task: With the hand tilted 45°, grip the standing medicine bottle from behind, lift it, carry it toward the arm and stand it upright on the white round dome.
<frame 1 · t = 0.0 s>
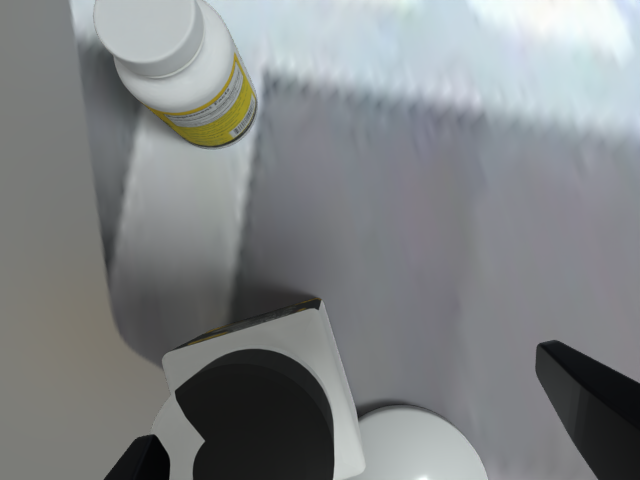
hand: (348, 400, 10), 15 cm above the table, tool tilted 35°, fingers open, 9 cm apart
supplement bottle: (216, 110, 26), on the table
medicine bottle: (281, 371, 25), on the table
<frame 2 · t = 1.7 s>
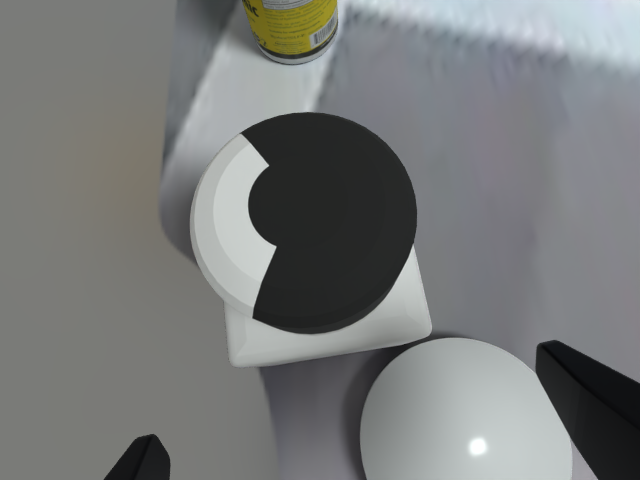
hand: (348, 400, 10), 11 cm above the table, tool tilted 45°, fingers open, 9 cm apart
supplement bottle: (296, 34, 27), on the table
medicine bottle: (326, 286, 22), on the table
white round dome: (457, 438, 19), on the table
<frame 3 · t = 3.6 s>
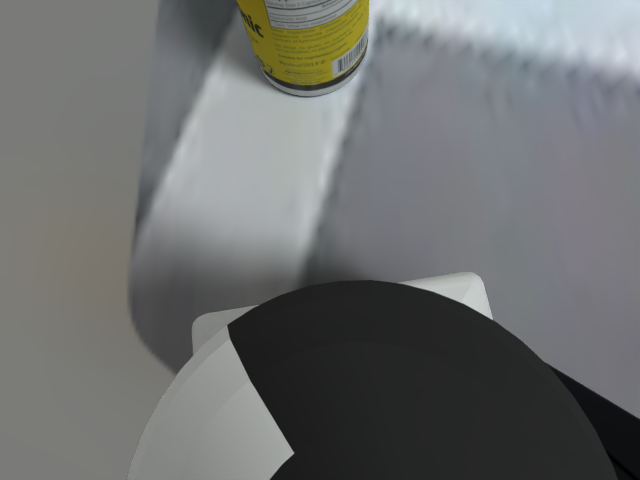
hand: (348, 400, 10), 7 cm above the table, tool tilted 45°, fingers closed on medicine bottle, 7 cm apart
supplement bottle: (311, 56, 20), on the table
medicine bottle: (356, 412, 16), on the table, touching gripper
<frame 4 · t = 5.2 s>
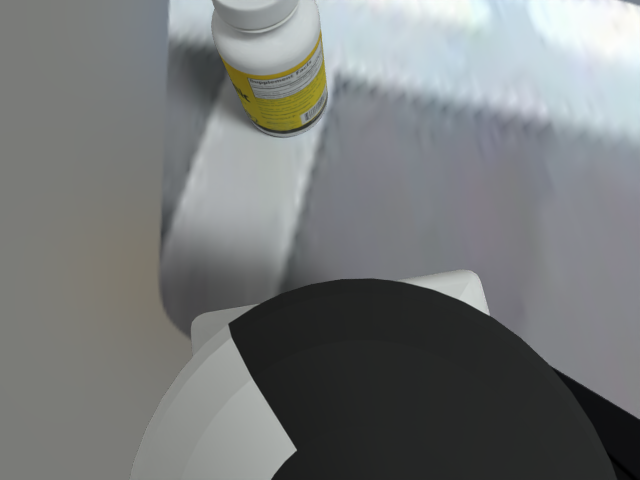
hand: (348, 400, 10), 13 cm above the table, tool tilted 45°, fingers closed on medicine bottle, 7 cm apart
supplement bottle: (286, 104, 27), on the table
medicine bottle: (354, 410, 16), point 6 cm above the table, touching gripper
when the fingers open (9 cm above the table, at t = 7.4 s): medicine bottle drops 1 cm, resting on white round dome.
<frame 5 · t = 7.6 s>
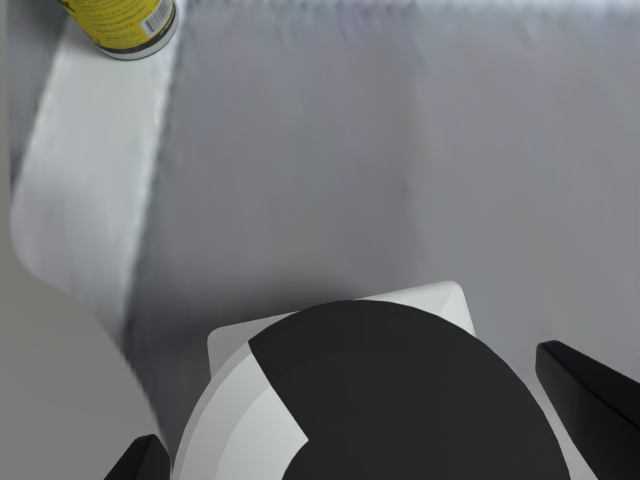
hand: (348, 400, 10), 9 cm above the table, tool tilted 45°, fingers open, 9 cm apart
supplement bottle: (138, 28, 25), on the table
medicine bottle: (356, 410, 17), point 1 cm above the table, touching white round dome
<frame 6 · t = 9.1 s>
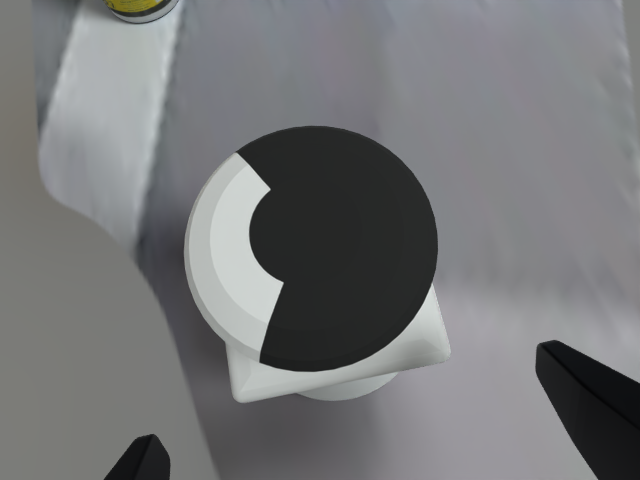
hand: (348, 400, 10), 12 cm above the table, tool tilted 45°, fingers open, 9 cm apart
medicine bottle: (330, 300, 21), point 1 cm above the table, touching white round dome
white round dome: (332, 306, 22), on the table
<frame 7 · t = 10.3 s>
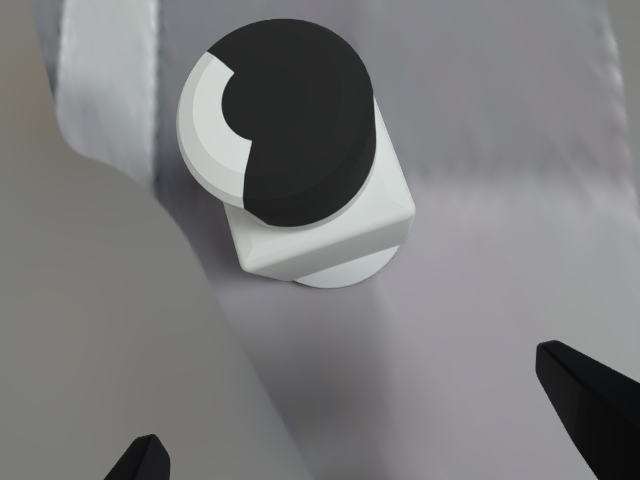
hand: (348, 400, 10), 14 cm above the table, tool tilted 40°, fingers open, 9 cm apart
medicine bottle: (326, 204, 23), point 1 cm above the table, touching white round dome
white round dome: (330, 211, 24), on the table
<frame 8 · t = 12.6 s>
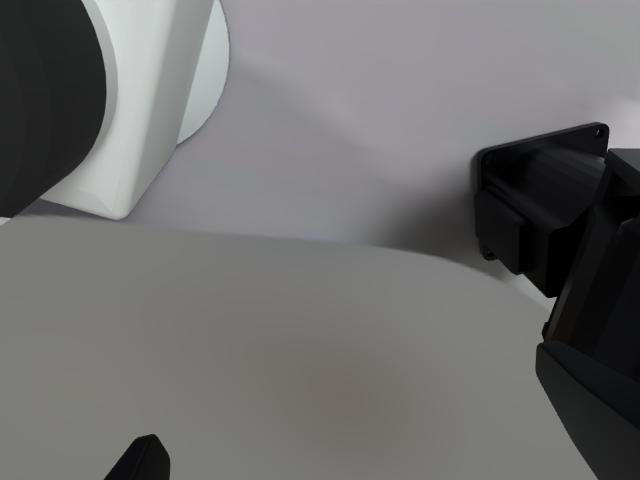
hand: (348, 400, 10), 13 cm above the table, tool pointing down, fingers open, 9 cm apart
medicine bottle: (104, 38, 16), point 1 cm above the table, touching white round dome
white round dome: (118, 39, 17), on the table
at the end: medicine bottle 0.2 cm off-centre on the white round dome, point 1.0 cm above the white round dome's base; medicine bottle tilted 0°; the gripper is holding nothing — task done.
